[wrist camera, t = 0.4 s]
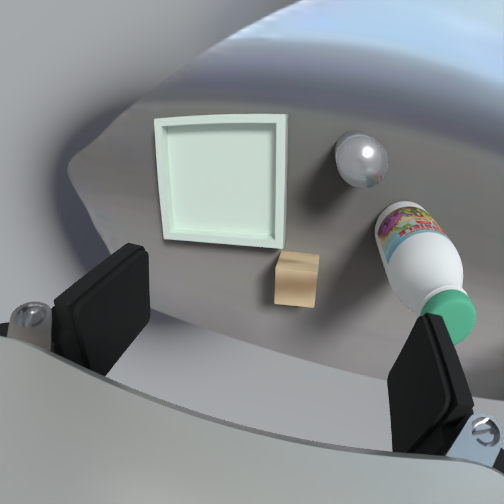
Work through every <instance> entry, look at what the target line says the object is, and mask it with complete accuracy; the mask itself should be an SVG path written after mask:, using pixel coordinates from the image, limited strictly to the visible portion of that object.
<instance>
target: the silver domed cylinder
mask: <svg viewBox="0 0 504 504" xmlns="http://www.w3.org/2000/svg"><path fill="white" fill-rule="evenodd" d="M334 151H335V158H336V164H337V168H338V171H339V173H340V175H341V177H342V178H343V179H344V180H345V181H346V182H347V183H348V184H350V185H352V186H354V187H357V188H369V187H372V186H375V185H377V184H378V183H379V182H380V181H381V180H382V179H383V178H384V177H385V175H386V173H387V170H388V156H387V153H386V151H385V149H384V147H383V146H382V145H381V144H380V143H379V142H378V141H376V140H375V139H373V138H371V137H370V136H368V135H366V134H364V133H362V132H359V131H350V132H347V133H345V134H343V135H342V136H341V137H340V138H339V139H338V140H337V142H336V145H335V150H334Z"/></svg>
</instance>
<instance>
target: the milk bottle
mask: <svg viewBox="0 0 504 504" xmlns="http://www.w3.org/2000/svg"><path fill="white" fill-rule="evenodd" d="M375 238H376V243H377V246H378V249H379V252H380V255H381V259H382V262H383V265H384V268H385V271H386V275H387V278H388V280H389V283H390V286H391V288H392V290H393V292H394V294H395V295H396V297H397V298H398V299H399V301H400V302H401V303H402V304H403V305H404V306H406V307H407V308H408V309H410V310H412V311H413V312H415V313H417V314H418V317H419V316H423V315H424V314H425V313H432V314H436V315H441V316H442V317H443V320H444V322H445V325H446V327H447V330H448V332H449V334H450V337H451V340H452V342H453V345H456V344H458V343H459V342H461V341H462V340H464V339H465V338H466V337H467V336H468V335H469V333H470V332H471V331H472V329H473V327H474V325H475V321H476V311H475V308H474V305H473V303H472V301H471V300H470V298H469V297H468V295H467V293H466V292H465V291H464V290H463V289H462V282H463V268H462V263H461V259H460V256H459V254H458V252H457V250H456V248H455V247H454V245H453V244H452V242H451V241H450V239H449V238H448V237H447V235H446V234H445V233H444V232H443V230H442V229H441V228H440V227H439V225H438V224H437V223H436V222H435V221H434V219H433V218H432V217H431V216H430V215H429V214H428V213H427V211H426V210H425V209H423V208H422V207H421V206H420V205H418V204H416V203H413V202H409V201H402V202H397V203H394V204H392V205H390V206H388V207H387V208H386V209H385V210H384V211H383V212H382V213H381V214H380V216H379V218H378V219H377V222H376V225H375Z"/></svg>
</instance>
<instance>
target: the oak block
mask: <svg viewBox="0 0 504 504" xmlns="http://www.w3.org/2000/svg"><path fill="white" fill-rule="evenodd" d="M318 266H319V254H309V253H298V252H286V251H281V254H280V257H279V260H278V262H277V265H276V269H275V301H274V304H282V305H292V306H302V307H312V308H314V305H315V296H316V287H317V277H318Z"/></svg>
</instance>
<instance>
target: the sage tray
mask: <svg viewBox="0 0 504 504" xmlns="http://www.w3.org/2000/svg"><path fill="white" fill-rule="evenodd" d="M154 125H155V144H156V159H157V173H158V185H159V196H160V206H161V216H162V225H163V234H164V239H172V240H184V241H196V242H208V243H220V244H232V245H244V246H255V247H267V248H279V249H283V247H284V244H285V240H286V210H287V169H288V114H221V115H198V116H182V117H169V118H159V119H154Z"/></svg>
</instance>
